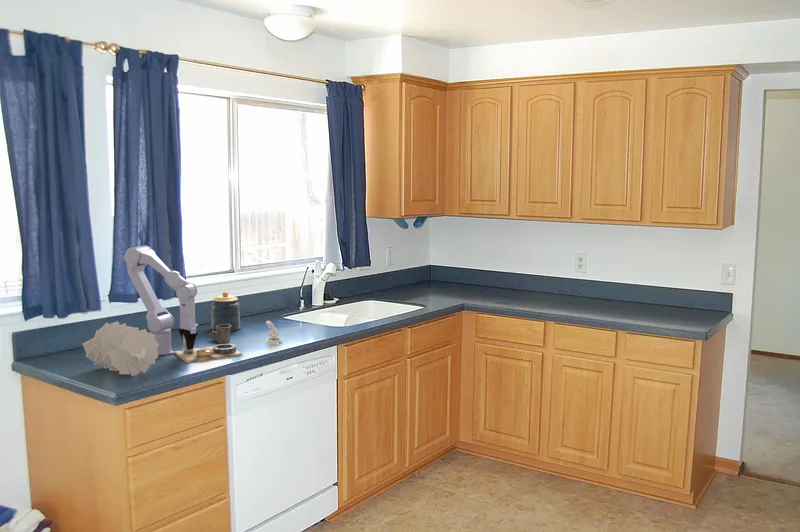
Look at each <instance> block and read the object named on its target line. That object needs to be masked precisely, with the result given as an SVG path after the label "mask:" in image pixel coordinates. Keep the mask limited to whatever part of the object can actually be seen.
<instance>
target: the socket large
mask: <svg viewBox="0 0 800 532" xmlns="http://www.w3.org/2000/svg"><path fill="white" fill-rule="evenodd" d="M212 347H213V353H215V354H231V353H234V352H236V350H237V345H236V344H235V343H234V344H233V343H229V344H219V343H218V344H215V345H213V346H212Z"/></svg>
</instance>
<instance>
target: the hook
mask: <svg viewBox="0 0 800 532" xmlns="http://www.w3.org/2000/svg"><path fill="white" fill-rule="evenodd" d="M265 324H266V326H267V327H268V329H270V332H269V336H270V337H268V338H266V340H265V343H266V344H267V343H268V344H267V345H278V344H277V343H281V344H283V343H284V339H283V338H282V337H279V331H278V329H277V328H276V327H275V326H274V324H273V322H272V321H271V320H267V321H266V322H265ZM282 342H283V343H282Z"/></svg>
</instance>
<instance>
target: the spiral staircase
mask: <svg viewBox="0 0 800 532" xmlns="http://www.w3.org/2000/svg"><path fill="white" fill-rule="evenodd" d="M154 337H155V334H151V333H150V332H148V331H147V329H146V328H144V329H141V330H140V328H139V327H138V326H137V327H135V326H129V325H127V323H122V324H121V323H120V322H119V321H115V322H112V323H108V322H106V323H104V325H102V327H101V328H99V329H96V331H95V334H94V337H93V338H91V339H89V340H87V341H85V342H83V343H82V346H83V349H84V351H85V353H86V354H85V357H86V358H88V359H89V360H91V361H92V362H94V363H93V365H94V366H103V369H108V370H109V371H113V372H119V374H118V375H130V376H133V377H135V376H137V375H139V374H140V373H143V374H146V372H147V371H148V369H149V368H150V367H151V365H155V364H156V359H158V358H159V355H158V352H157V347H158V346H159V344H158V342H157V341H156V340H155V339H154Z"/></svg>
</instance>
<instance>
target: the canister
mask: <svg viewBox="0 0 800 532" xmlns="http://www.w3.org/2000/svg"><path fill="white" fill-rule="evenodd" d="M238 300H239V298H238V297H237V296H235V295H234V294H233V295H232V294H229V292H227V291H223V292H222V294H220V295H218V296H215V297H214V298H213V299H212V301H213V302H212V303H211V304H210V305H211V307H212V309H211V311H210V313H211V328H212V331H214V330H215V331H216V332H217V329H216V326H217V325H221V324H230V325H231V331H230V332H234V331H238V330H240V328H241V327H240V326H241V320H240V318H241V317H240V315H241V314H240V311H241V310H240V304H241V303H240V301H238Z"/></svg>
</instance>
